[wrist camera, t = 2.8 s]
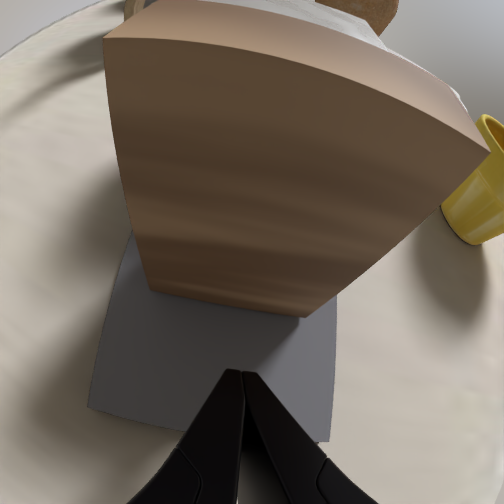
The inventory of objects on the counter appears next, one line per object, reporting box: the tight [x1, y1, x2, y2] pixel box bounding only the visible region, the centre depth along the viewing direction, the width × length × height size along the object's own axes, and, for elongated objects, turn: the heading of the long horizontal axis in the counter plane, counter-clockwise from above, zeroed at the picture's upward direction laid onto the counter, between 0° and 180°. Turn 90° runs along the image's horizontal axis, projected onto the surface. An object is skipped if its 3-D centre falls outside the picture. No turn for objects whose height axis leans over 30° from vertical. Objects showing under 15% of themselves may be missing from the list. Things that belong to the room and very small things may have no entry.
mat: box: [87, 230, 337, 442], centre depth 18 cm, size 25×12×1 cm, turn 174°
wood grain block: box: [103, 0, 491, 318], centre depth 13 cm, size 13×8×12 cm, turn 174°
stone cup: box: [315, 0, 399, 37], centre depth 29 cm, size 15×12×15 cm
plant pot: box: [441, 114, 504, 245], centre depth 21 cm, size 10×10×10 cm
